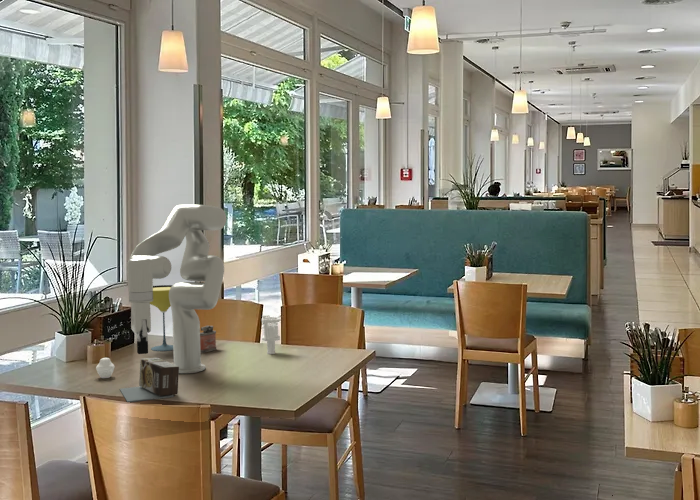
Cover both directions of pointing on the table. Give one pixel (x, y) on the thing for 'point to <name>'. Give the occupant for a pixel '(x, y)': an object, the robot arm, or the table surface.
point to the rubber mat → (140, 394)
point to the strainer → (270, 332)
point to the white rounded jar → (105, 368)
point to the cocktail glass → (162, 304)
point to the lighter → (207, 339)
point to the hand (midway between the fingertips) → (142, 353)
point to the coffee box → (159, 376)
